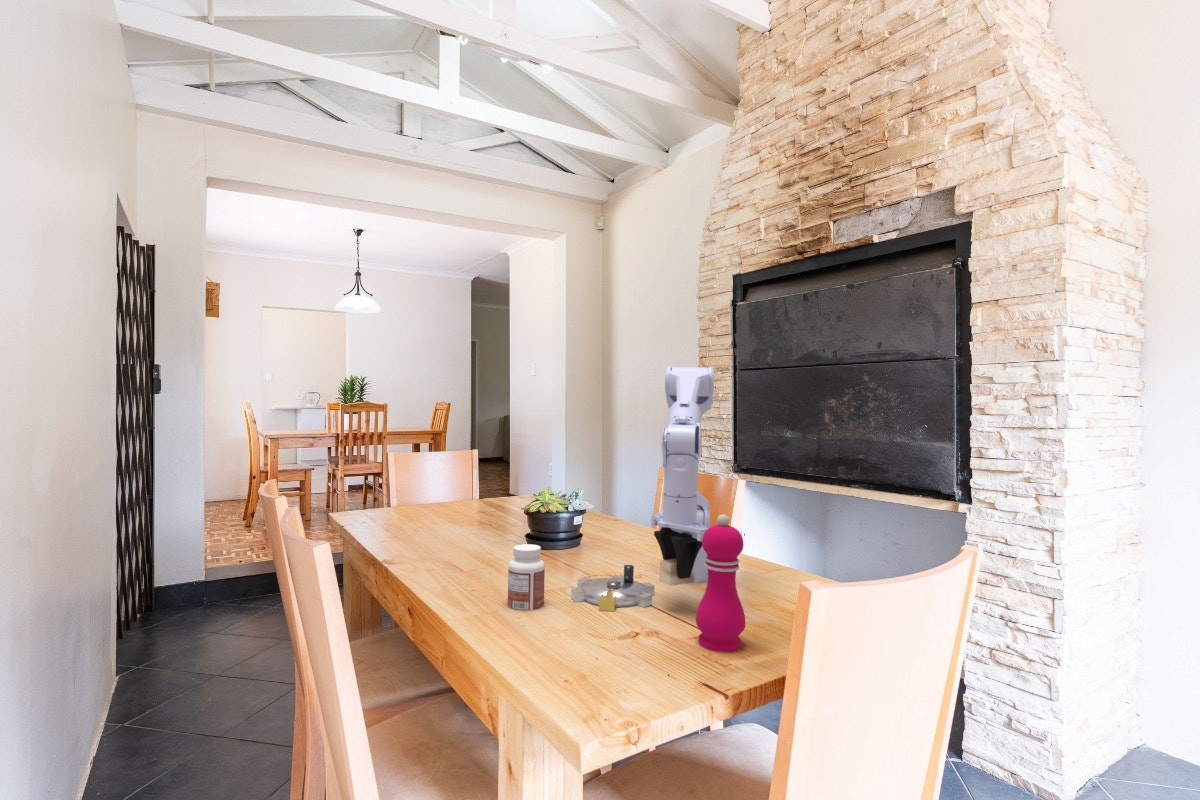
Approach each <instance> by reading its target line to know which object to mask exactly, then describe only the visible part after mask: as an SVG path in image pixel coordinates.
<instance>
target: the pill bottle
mask: <svg viewBox="0 0 1200 800" xmlns="http://www.w3.org/2000/svg"><path fill="white" fill-rule="evenodd" d="M512 548H513V549H512V550H513V551H512V556H513V557H514V558H513V559H511V560H510V561H509V563H508V570H507V572H508V575H507V577H508V578H507V606H508V608H510V609H512V610H516V611H535V610H539V609H541V608H543V607H544V606H545V569H546V568H545V567H546V566H545V562H544V561H543V560H542V559H541V558H540V557H541V554H542V547H541V546H540V545H538V544H532V543H531V544H530V543H525V544H523V543H522V544H517V545H515V546H513V547H512Z"/></svg>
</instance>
